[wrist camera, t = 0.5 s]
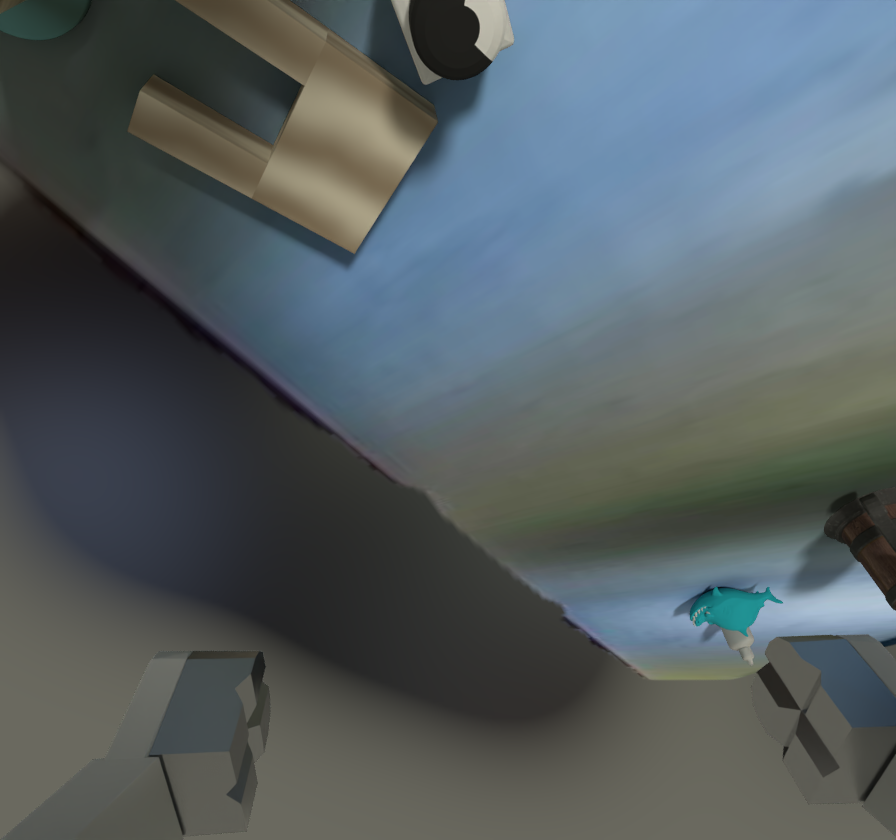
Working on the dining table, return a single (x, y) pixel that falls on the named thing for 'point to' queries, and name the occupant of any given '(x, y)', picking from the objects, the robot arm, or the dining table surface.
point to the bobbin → (41, 17)
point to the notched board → (298, 123)
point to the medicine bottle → (453, 35)
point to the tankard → (870, 536)
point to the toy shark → (729, 608)
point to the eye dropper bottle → (740, 643)
